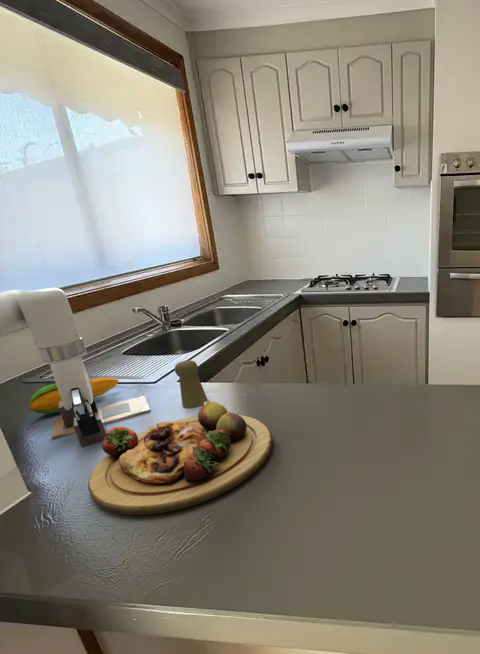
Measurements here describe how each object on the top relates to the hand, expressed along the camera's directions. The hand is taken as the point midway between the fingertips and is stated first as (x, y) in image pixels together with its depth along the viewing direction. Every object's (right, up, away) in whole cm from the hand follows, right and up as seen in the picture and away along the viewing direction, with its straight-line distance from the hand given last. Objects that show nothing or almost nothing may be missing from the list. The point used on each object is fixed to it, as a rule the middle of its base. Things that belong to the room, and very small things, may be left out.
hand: (91, 425), depth 91 cm
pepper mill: (+16, +4, +15) cm, 22 cm away
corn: (-16, +3, +20) cm, 26 cm away
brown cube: (0, -3, +1) cm, 3 cm away
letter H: (-9, 0, +9) cm, 13 cm away
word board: (-5, +1, +12) cm, 13 cm away
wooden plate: (+26, -6, -10) cm, 28 cm away
